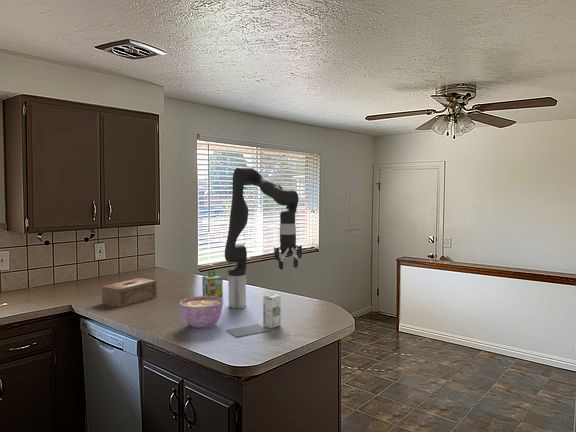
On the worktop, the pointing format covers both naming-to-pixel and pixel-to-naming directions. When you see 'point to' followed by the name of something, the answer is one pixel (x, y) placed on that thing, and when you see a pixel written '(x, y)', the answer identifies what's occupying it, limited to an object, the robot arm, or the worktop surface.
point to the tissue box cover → (128, 292)
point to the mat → (247, 330)
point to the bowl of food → (201, 310)
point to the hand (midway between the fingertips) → (288, 268)
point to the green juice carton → (212, 285)
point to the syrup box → (271, 310)
